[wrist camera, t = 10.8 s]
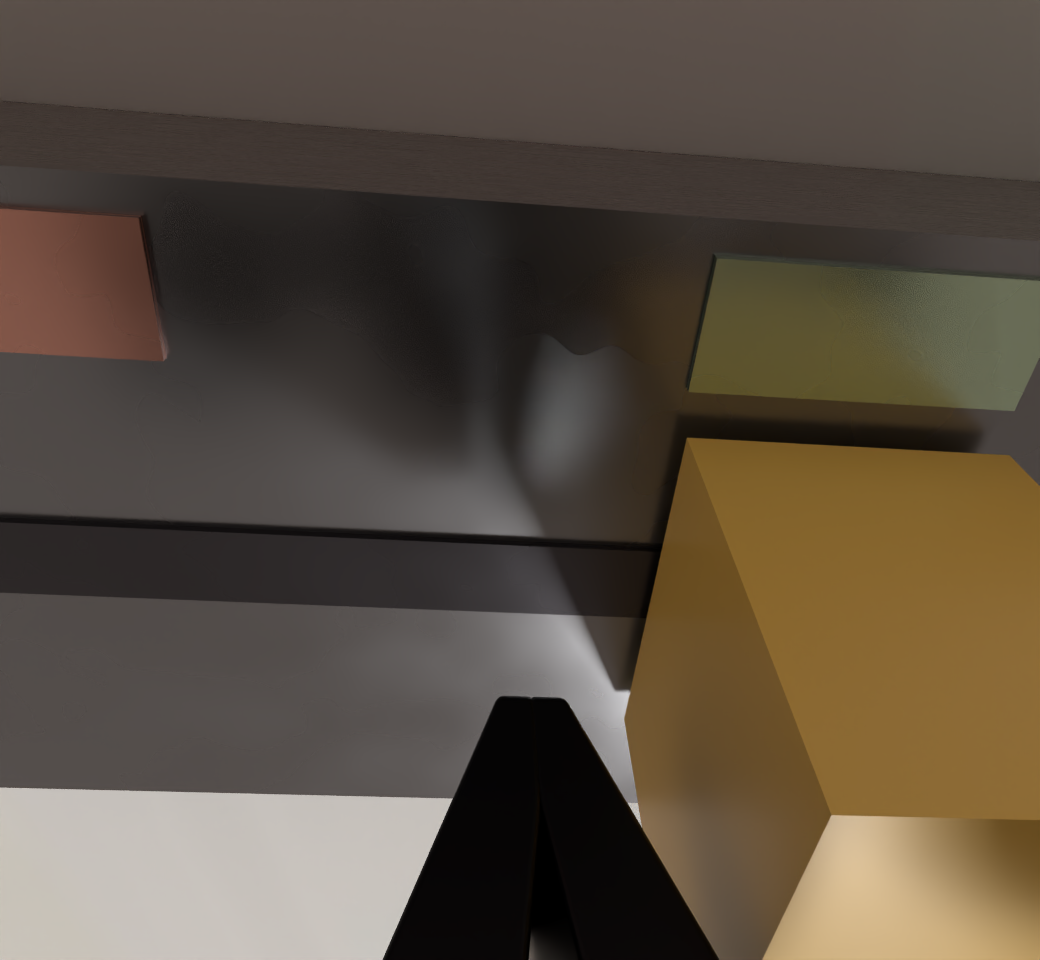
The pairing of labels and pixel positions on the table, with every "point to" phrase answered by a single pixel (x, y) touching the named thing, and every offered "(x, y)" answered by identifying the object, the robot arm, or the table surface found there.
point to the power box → (424, 420)
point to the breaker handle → (846, 702)
